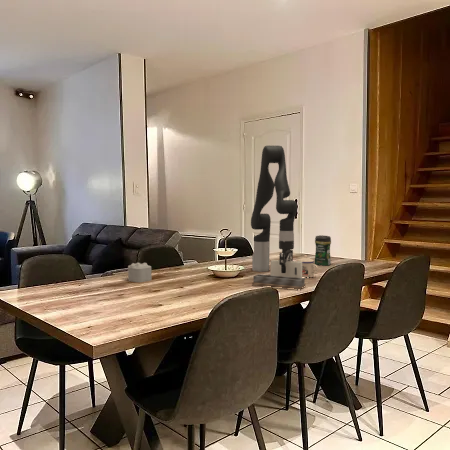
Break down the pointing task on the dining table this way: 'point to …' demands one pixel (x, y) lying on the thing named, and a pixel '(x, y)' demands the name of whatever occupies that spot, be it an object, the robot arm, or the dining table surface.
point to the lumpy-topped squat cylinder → (139, 272)
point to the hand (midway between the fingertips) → (286, 271)
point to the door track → (278, 281)
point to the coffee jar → (322, 250)
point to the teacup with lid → (307, 266)
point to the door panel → (287, 269)
